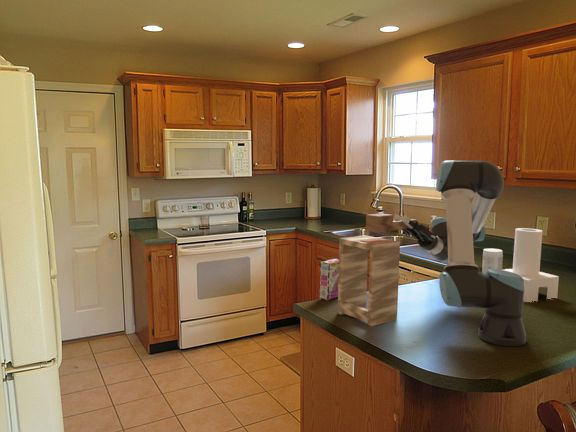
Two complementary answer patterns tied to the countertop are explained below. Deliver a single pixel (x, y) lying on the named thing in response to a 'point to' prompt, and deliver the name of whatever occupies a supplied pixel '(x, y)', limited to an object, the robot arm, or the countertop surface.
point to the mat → (377, 241)
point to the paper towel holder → (531, 264)
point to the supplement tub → (492, 259)
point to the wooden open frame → (380, 279)
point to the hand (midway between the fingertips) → (399, 217)
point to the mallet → (384, 223)
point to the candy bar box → (329, 279)
